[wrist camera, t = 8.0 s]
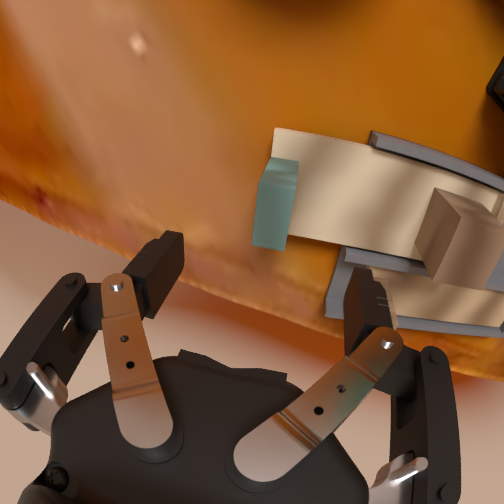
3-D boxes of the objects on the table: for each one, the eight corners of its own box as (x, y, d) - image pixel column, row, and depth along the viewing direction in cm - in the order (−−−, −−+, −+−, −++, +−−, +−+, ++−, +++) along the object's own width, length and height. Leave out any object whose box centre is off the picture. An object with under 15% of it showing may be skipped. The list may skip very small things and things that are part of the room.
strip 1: (501, 190, 18) (541, 227, 13) (468, 265, 22) (494, 312, 17) (276, 127, 20) (262, 147, 14) (263, 223, 24) (248, 271, 19)
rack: (559, 207, 17) (571, 219, 15) (496, 323, 26) (502, 338, 24) (370, 130, 19) (378, 136, 17) (324, 299, 29) (324, 317, 27)
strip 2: (517, 289, 22) (540, 330, 17) (496, 321, 25) (513, 362, 20) (368, 259, 24) (379, 311, 19) (352, 300, 27) (356, 354, 22)
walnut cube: (481, 203, 18) (511, 234, 14) (459, 253, 21) (481, 290, 17) (434, 187, 19) (461, 217, 15) (414, 242, 21) (431, 281, 17)
